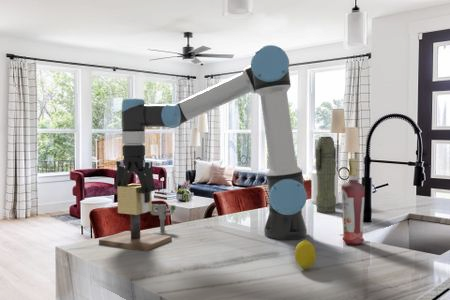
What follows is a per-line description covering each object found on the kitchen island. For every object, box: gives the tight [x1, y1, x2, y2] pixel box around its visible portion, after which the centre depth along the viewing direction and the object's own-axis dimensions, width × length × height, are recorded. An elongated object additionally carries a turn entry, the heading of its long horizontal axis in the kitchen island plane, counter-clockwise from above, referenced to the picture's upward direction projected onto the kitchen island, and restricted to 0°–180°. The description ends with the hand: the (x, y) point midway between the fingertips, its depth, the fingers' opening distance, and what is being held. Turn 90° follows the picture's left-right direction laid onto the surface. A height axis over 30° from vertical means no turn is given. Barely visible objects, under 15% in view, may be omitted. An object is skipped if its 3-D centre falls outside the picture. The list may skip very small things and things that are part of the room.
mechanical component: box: [150, 203, 177, 232], centre depth 156 cm, size 3×10×10 cm, turn 78°
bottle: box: [310, 157, 340, 205], centre depth 213 cm, size 14×14×28 cm
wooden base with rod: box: [98, 214, 173, 252], centre depth 139 cm, size 20×14×14 cm
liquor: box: [341, 158, 366, 246], centre depth 134 cm, size 7×7×28 cm
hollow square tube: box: [116, 183, 153, 215], centre depth 139 cm, size 8×8×9 cm
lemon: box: [294, 239, 317, 270], centre depth 109 cm, size 6×6×8 cm
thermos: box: [315, 136, 337, 214], centre depth 190 cm, size 9×12×35 cm
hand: (134, 211), depth 139 cm, fingers closed on hollow square tube, 8 cm apart
